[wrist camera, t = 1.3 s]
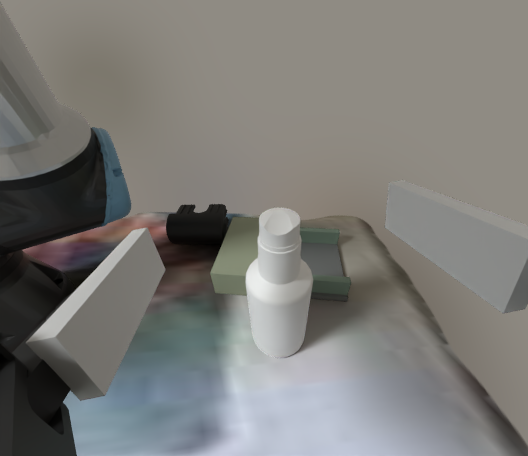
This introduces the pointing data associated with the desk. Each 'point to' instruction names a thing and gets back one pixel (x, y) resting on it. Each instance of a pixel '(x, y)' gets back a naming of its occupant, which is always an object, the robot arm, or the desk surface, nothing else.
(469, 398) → the desk surface
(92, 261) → the desk surface
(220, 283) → the chute bracket
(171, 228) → the end cap
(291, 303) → the spray bottle
